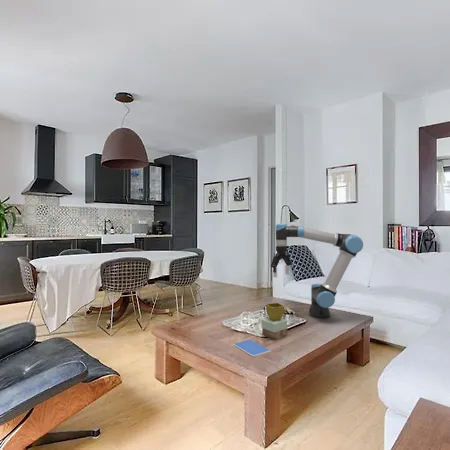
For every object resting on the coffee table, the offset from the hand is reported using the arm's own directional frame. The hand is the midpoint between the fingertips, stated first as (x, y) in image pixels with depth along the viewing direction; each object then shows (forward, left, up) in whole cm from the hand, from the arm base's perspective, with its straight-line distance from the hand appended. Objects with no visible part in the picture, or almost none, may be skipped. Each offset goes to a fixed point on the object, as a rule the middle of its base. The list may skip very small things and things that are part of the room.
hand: (281, 275), depth 227 cm
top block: (+26, +14, -27) cm, 40 cm away
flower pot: (+24, +13, -22) cm, 36 cm away
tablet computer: (+50, +17, -32) cm, 62 cm away
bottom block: (+25, +14, -32) cm, 43 cm away
